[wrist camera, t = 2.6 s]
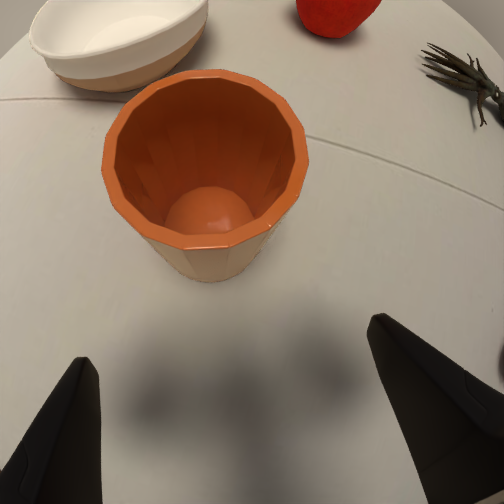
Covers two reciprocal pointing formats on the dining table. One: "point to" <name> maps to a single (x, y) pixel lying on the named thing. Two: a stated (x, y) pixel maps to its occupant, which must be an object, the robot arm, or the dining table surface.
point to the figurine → (467, 78)
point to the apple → (334, 15)
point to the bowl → (116, 39)
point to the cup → (205, 169)
